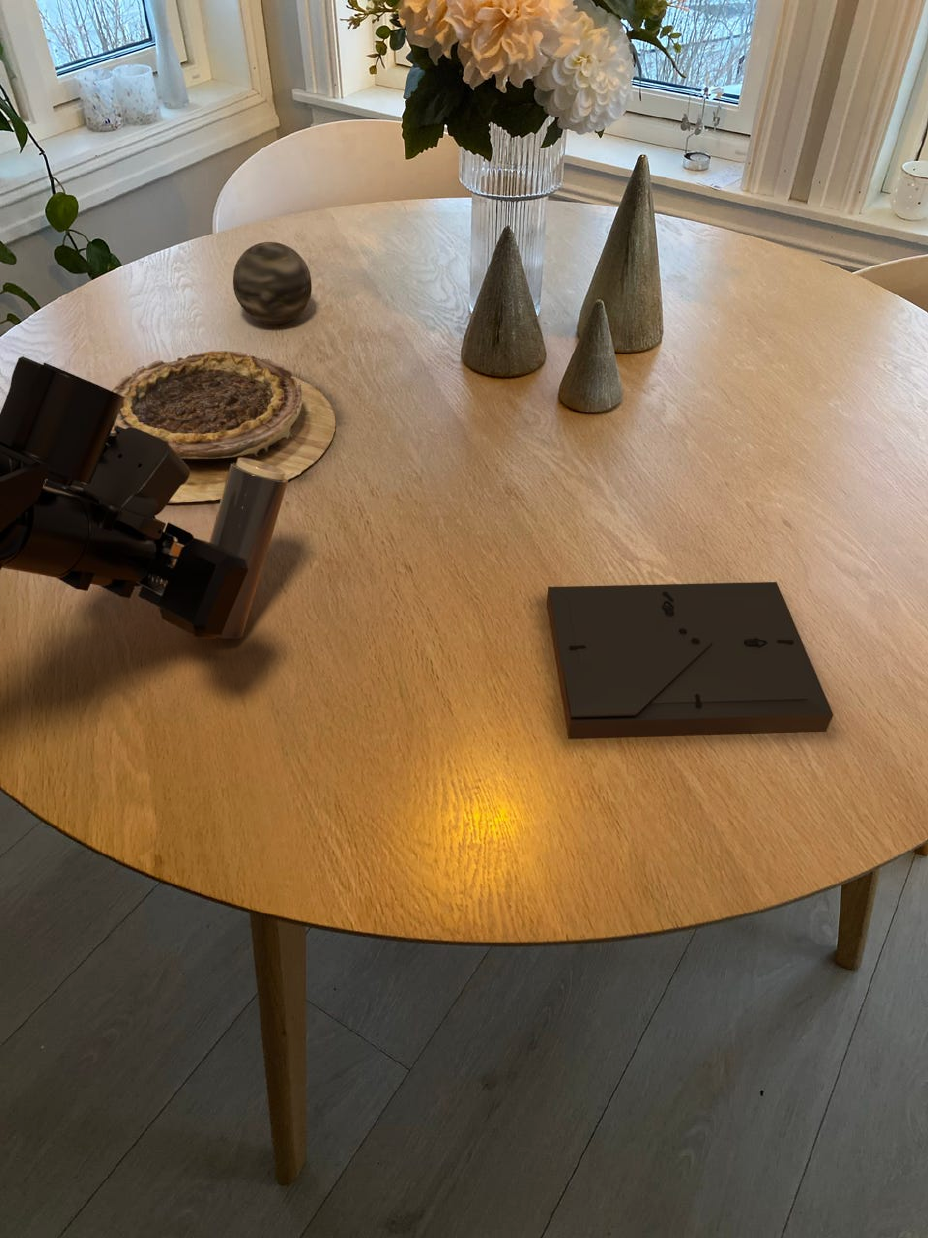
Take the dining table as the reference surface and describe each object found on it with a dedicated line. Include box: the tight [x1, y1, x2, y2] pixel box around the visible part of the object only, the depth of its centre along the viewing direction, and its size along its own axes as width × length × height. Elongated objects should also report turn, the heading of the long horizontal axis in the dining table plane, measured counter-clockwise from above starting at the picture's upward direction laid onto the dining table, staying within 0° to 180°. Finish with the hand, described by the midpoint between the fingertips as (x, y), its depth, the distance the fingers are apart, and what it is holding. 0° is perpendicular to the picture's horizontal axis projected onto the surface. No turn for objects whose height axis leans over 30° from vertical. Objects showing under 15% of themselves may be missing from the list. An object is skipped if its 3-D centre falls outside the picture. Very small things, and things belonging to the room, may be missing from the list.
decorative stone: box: [232, 241, 313, 325], centre depth 123 cm, size 10×10×10 cm
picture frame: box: [546, 581, 834, 740], centre depth 81 cm, size 16×3×21 cm
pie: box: [111, 350, 337, 504], centre depth 105 cm, size 28×27×5 cm
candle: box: [208, 458, 289, 640], centre depth 81 cm, size 5×5×15 cm
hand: (204, 569), depth 78 cm, fingers closed
